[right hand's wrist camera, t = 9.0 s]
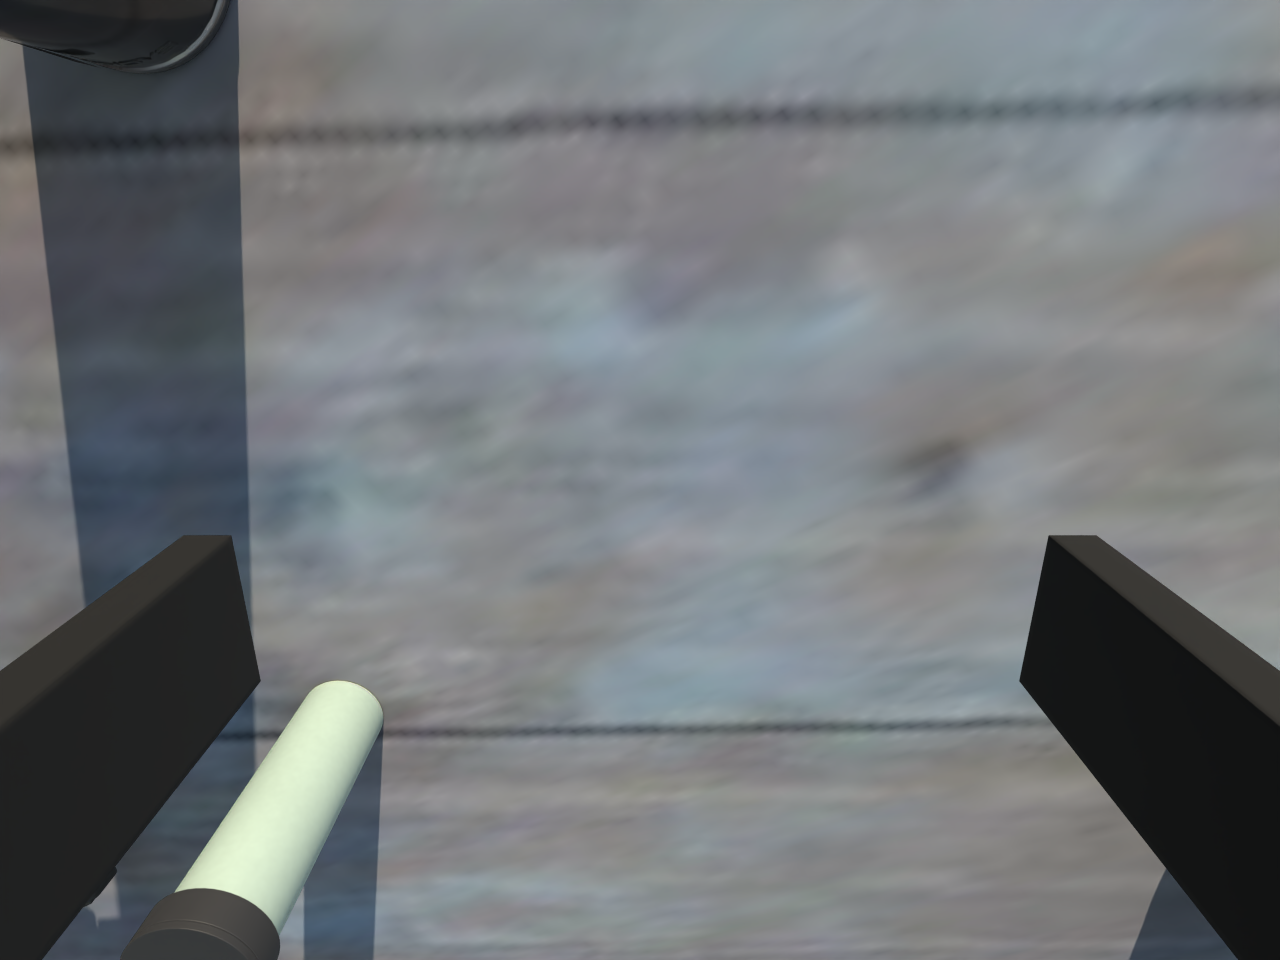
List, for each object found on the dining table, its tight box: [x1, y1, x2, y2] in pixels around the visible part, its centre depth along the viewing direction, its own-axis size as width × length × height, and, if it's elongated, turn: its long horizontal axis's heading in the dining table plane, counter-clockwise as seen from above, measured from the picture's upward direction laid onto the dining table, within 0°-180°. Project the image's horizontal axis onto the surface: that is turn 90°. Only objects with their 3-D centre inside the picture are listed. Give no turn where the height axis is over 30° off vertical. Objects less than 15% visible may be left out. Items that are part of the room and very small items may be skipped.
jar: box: [174, 681, 383, 935], centre depth 38 cm, size 5×5×16 cm
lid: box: [120, 888, 280, 960], centre depth 31 cm, size 5×5×2 cm
